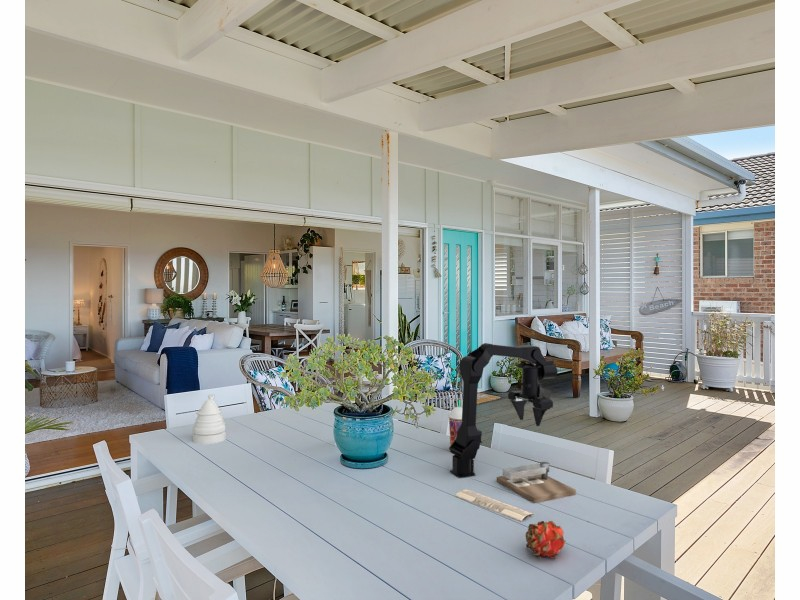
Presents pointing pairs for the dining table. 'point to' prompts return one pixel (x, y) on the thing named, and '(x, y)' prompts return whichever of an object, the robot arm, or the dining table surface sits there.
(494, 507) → the beige long curved strip
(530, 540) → the dragon fruit
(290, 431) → the dining table surface
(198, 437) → the honey pot
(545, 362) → the robot arm
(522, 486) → the label board
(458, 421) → the smoothie
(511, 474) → the swing bar
